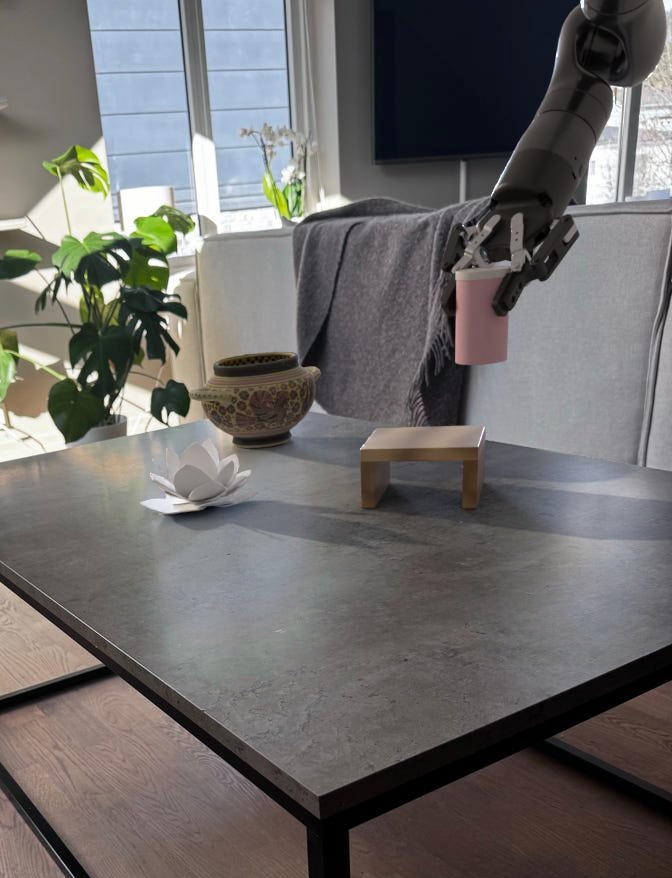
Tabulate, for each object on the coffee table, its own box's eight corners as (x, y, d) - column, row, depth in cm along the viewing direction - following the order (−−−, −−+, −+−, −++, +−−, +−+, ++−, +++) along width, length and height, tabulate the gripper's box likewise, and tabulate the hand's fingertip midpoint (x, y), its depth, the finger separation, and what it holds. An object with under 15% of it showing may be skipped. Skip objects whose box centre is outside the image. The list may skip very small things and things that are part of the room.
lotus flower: (117, 514, 115) (112, 443, 112) (200, 497, 125) (198, 432, 122) (197, 525, 105) (194, 448, 102) (281, 506, 115) (280, 435, 112)
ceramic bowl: (299, 438, 157) (280, 349, 154) (365, 423, 141) (346, 324, 138) (177, 469, 146) (154, 374, 143) (234, 456, 131) (210, 350, 128)
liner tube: (509, 355, 97) (512, 264, 94) (506, 363, 93) (510, 268, 89) (456, 357, 99) (458, 269, 96) (451, 366, 95) (453, 273, 91)
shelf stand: (484, 482, 112) (485, 424, 109) (476, 508, 103) (478, 446, 100) (377, 482, 117) (376, 427, 114) (361, 508, 107) (359, 449, 104)
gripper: (468, 154, 97) (398, 288, 96) (598, 135, 87) (522, 285, 85) (495, 205, 102) (429, 333, 101) (621, 193, 92) (549, 336, 90)
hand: (472, 310), depth 93 cm, fingers closed on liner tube, 5 cm apart
